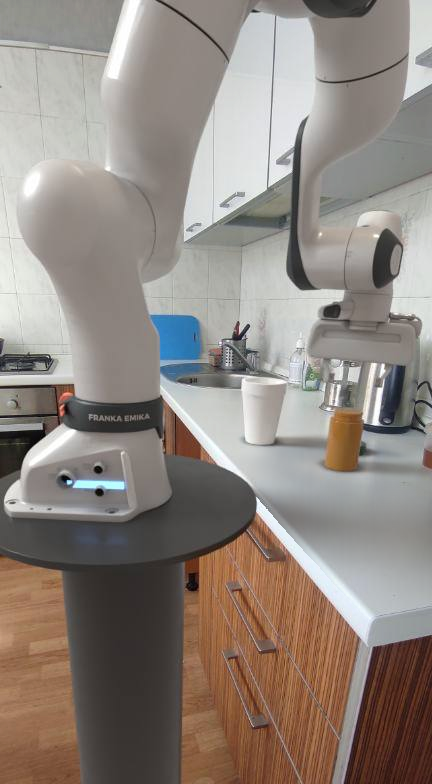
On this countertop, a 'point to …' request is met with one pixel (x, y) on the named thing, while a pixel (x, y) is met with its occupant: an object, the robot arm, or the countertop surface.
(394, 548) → the countertop surface
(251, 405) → the foam cup
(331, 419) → the jar
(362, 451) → the lid
